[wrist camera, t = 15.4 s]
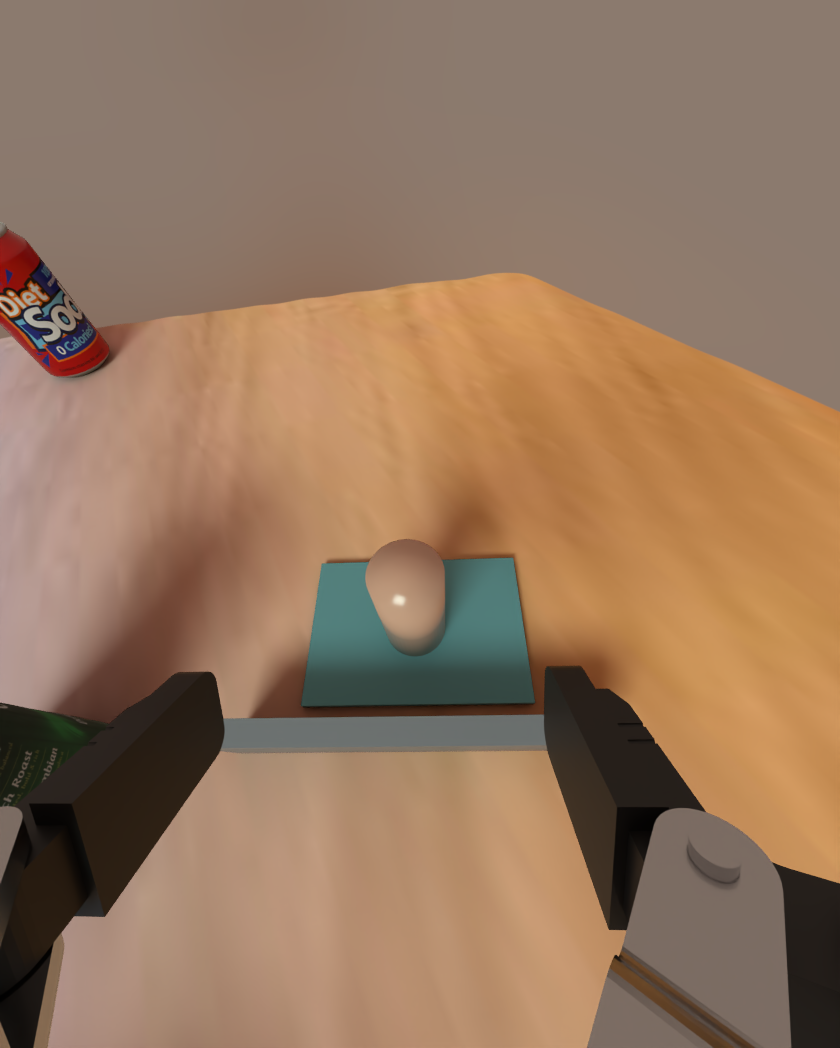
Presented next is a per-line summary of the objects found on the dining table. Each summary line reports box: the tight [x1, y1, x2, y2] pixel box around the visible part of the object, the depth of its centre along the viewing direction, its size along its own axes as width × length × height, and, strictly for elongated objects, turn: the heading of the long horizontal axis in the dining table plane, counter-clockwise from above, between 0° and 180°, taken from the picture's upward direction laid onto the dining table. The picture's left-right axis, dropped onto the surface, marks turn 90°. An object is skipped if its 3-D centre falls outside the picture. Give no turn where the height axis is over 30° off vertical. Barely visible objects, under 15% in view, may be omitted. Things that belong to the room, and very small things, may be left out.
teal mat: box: [301, 558, 535, 707], centre depth 30 cm, size 16×11×1 cm
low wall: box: [220, 715, 547, 753], centre depth 24 cm, size 24×2×5 cm, turn 90°
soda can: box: [0, 222, 109, 377], centre depth 46 cm, size 8×8×15 cm
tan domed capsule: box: [365, 539, 445, 656], centre depth 26 cm, size 4×4×9 cm
